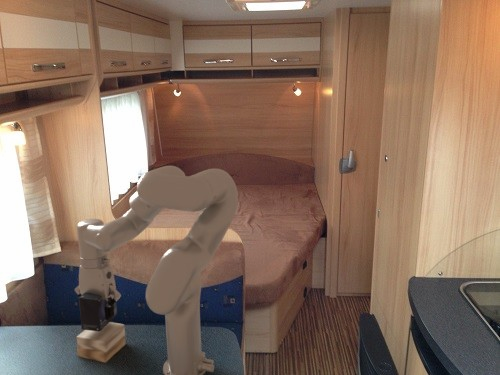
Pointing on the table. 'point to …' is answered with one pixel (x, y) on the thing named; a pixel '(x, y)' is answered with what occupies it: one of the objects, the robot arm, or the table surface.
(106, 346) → the ash slab
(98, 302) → the small box
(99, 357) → the oak slab
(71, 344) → the table surface
